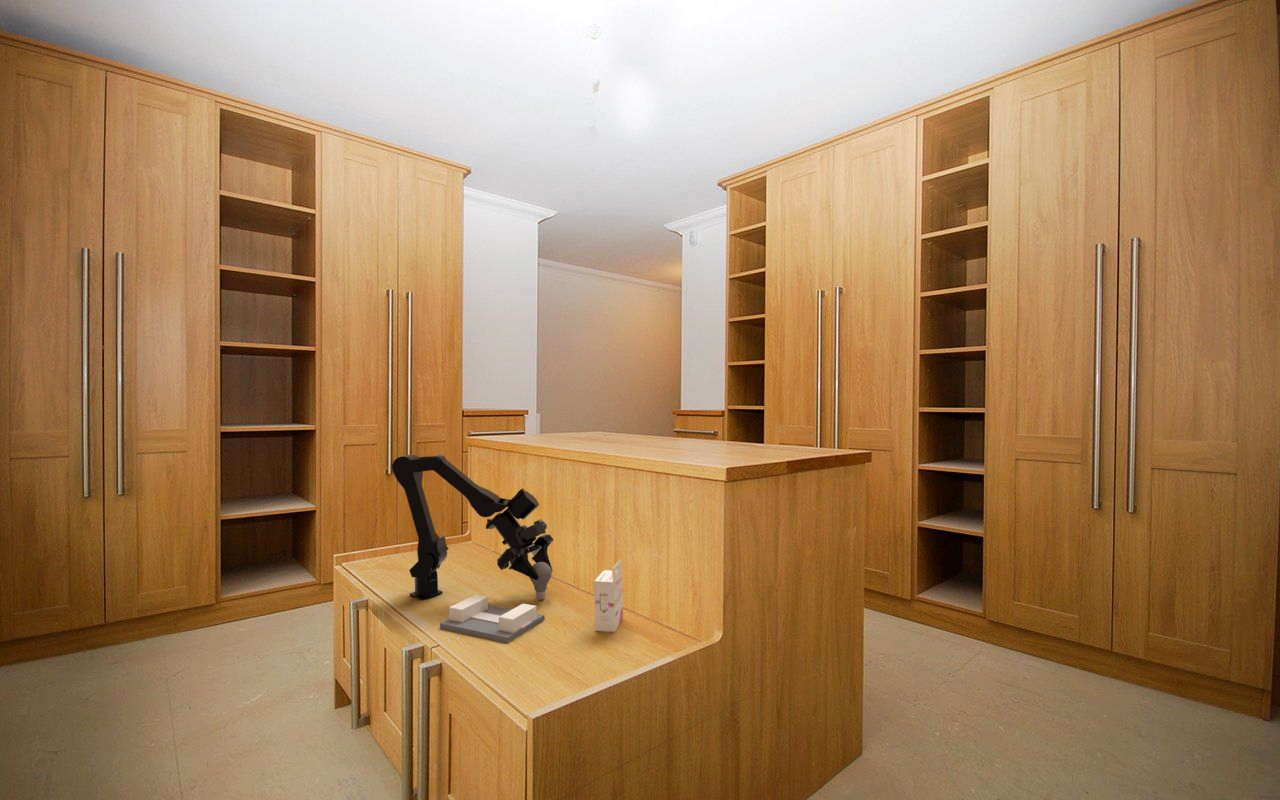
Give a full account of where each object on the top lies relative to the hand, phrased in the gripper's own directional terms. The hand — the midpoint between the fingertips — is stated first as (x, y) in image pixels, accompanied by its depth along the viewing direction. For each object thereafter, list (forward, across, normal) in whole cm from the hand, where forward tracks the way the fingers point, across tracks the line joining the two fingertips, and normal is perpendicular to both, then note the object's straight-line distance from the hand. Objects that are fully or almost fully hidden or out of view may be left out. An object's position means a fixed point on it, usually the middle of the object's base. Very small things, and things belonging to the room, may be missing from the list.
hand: (544, 575), depth 148 cm
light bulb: (+4, 0, +6) cm, 7 cm away
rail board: (+3, -18, +6) cm, 19 cm away
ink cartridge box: (+22, -7, -12) cm, 26 cm away
